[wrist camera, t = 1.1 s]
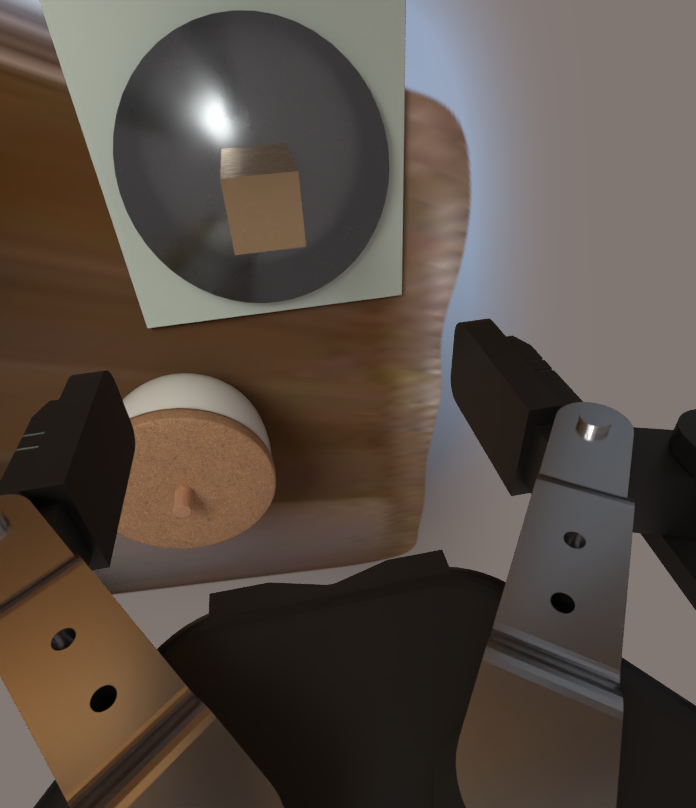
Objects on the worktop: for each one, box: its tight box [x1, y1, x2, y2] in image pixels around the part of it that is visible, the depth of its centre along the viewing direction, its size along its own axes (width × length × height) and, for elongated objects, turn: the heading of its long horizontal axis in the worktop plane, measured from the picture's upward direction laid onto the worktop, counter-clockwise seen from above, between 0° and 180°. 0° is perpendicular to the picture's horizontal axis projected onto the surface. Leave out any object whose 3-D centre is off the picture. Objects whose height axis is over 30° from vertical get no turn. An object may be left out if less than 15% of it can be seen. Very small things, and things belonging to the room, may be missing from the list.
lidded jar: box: [117, 373, 276, 548], centre depth 32 cm, size 11×11×9 cm
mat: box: [39, 0, 406, 328], centre depth 27 cm, size 16×16×1 cm
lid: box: [113, 10, 389, 303], centre depth 25 cm, size 14×14×7 cm
